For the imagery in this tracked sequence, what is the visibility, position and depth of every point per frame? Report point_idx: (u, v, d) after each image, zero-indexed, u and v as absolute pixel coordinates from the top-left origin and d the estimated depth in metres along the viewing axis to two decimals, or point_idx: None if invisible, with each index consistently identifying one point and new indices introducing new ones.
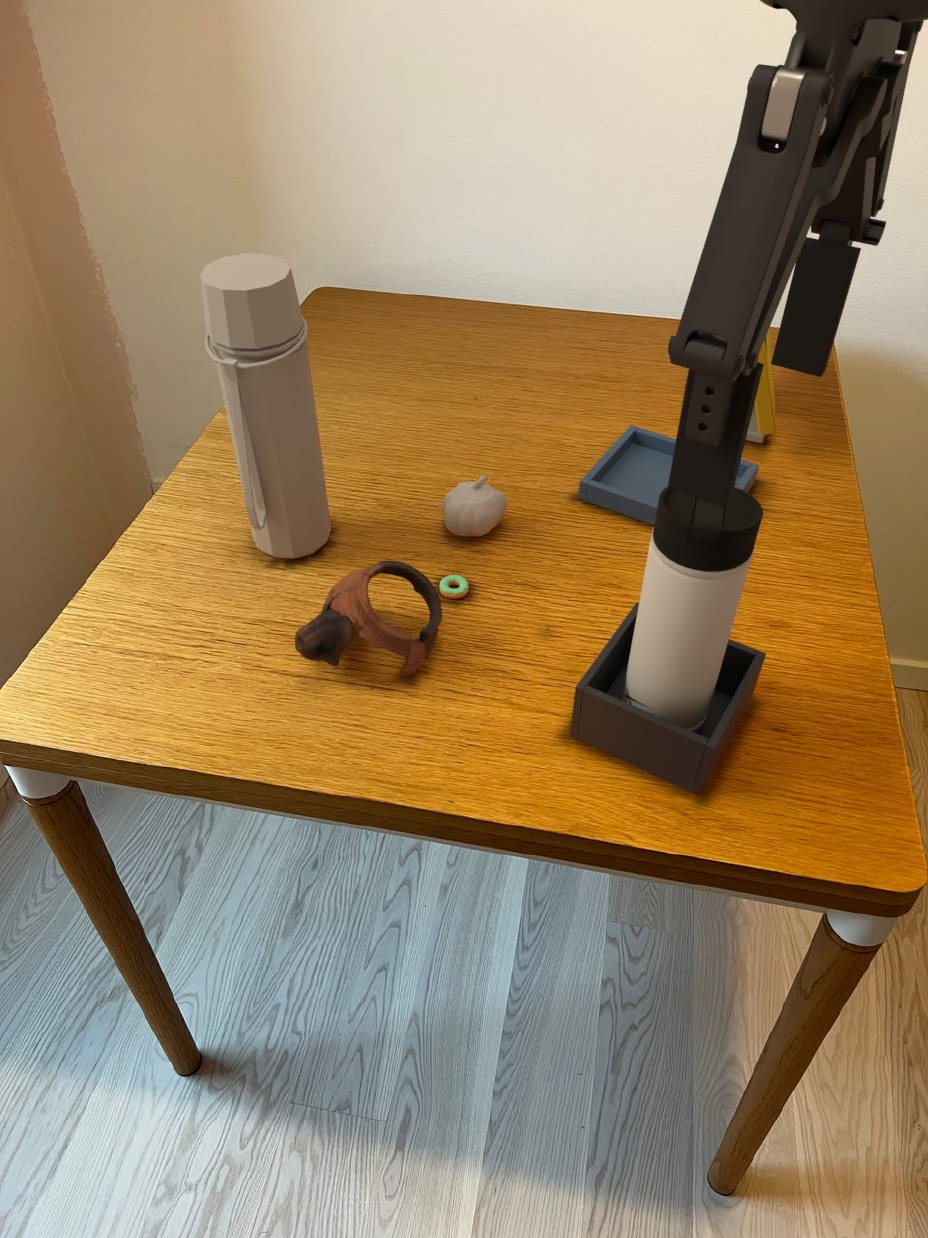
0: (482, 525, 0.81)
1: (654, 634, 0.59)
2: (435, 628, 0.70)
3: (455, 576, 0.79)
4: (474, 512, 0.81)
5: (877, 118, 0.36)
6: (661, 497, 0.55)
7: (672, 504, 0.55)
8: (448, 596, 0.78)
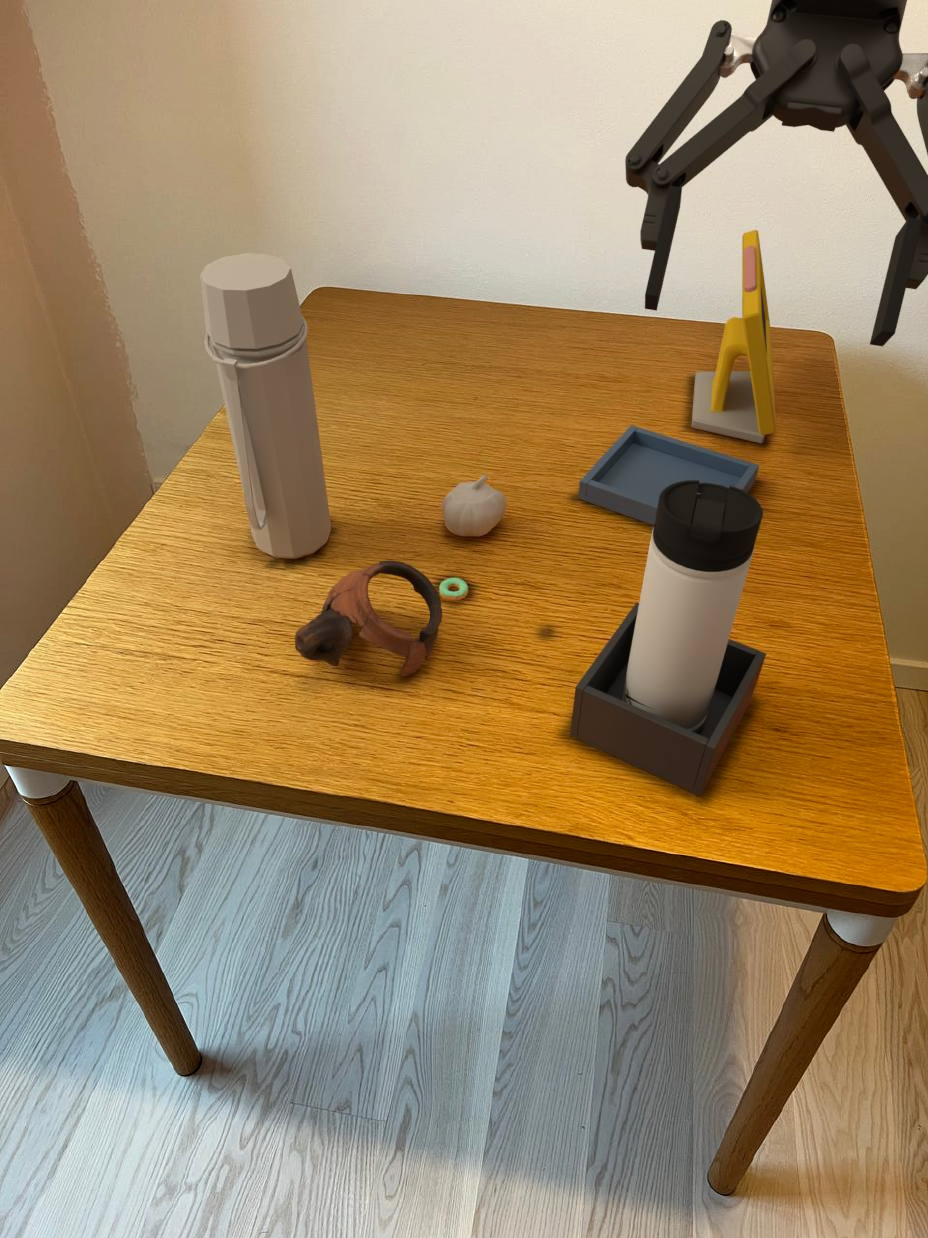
0: (482, 525, 0.81)
1: (654, 634, 0.59)
2: (435, 628, 0.70)
3: (455, 579, 0.79)
4: (474, 512, 0.81)
5: (850, 83, 0.52)
6: (661, 497, 0.55)
7: (672, 504, 0.55)
8: (448, 599, 0.78)
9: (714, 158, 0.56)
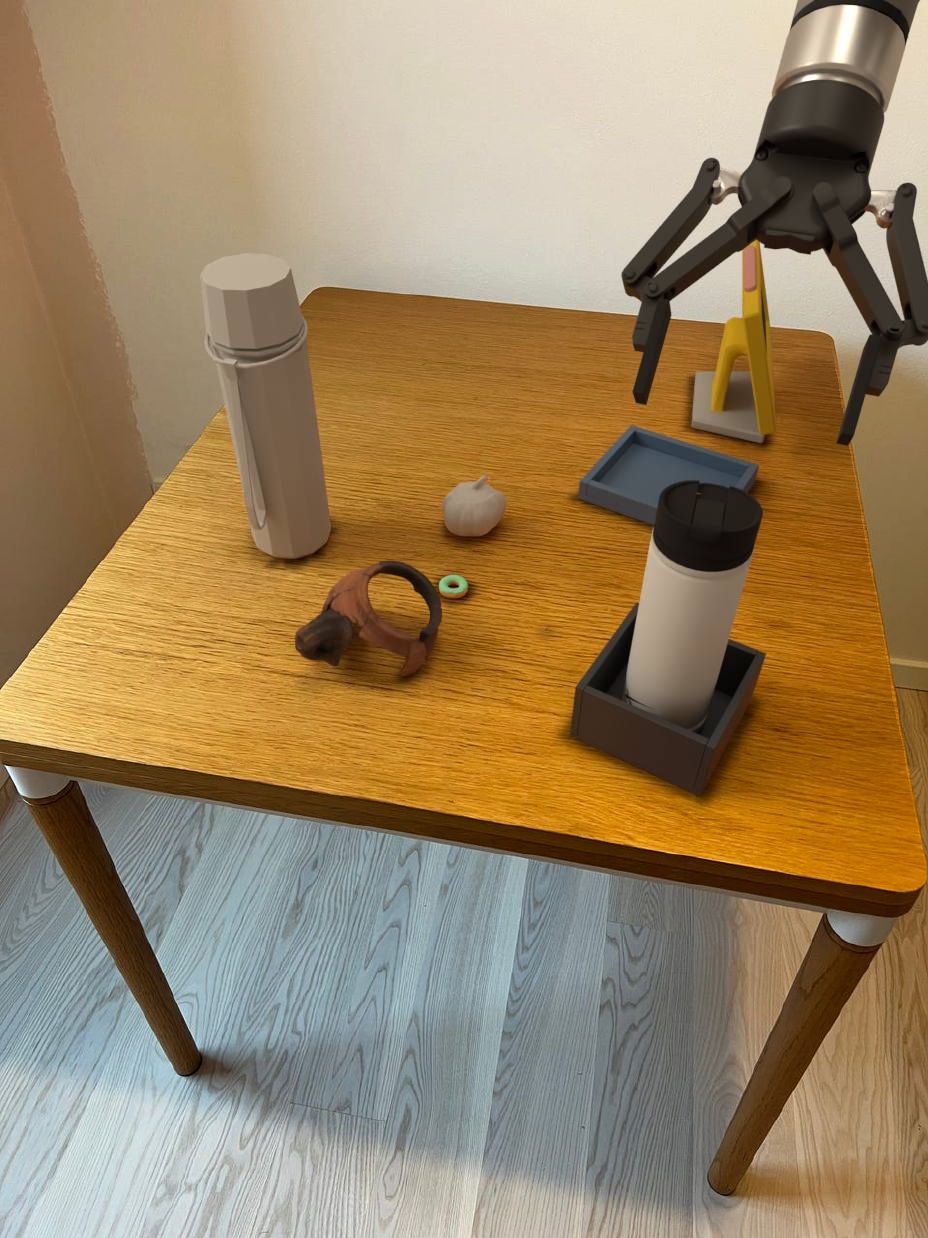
0: (482, 525, 0.81)
1: (654, 634, 0.59)
2: (435, 628, 0.70)
3: (454, 576, 0.79)
4: (474, 512, 0.81)
5: (822, 215, 0.59)
6: (661, 497, 0.55)
7: (672, 504, 0.55)
8: (447, 596, 0.78)
9: (703, 274, 0.63)
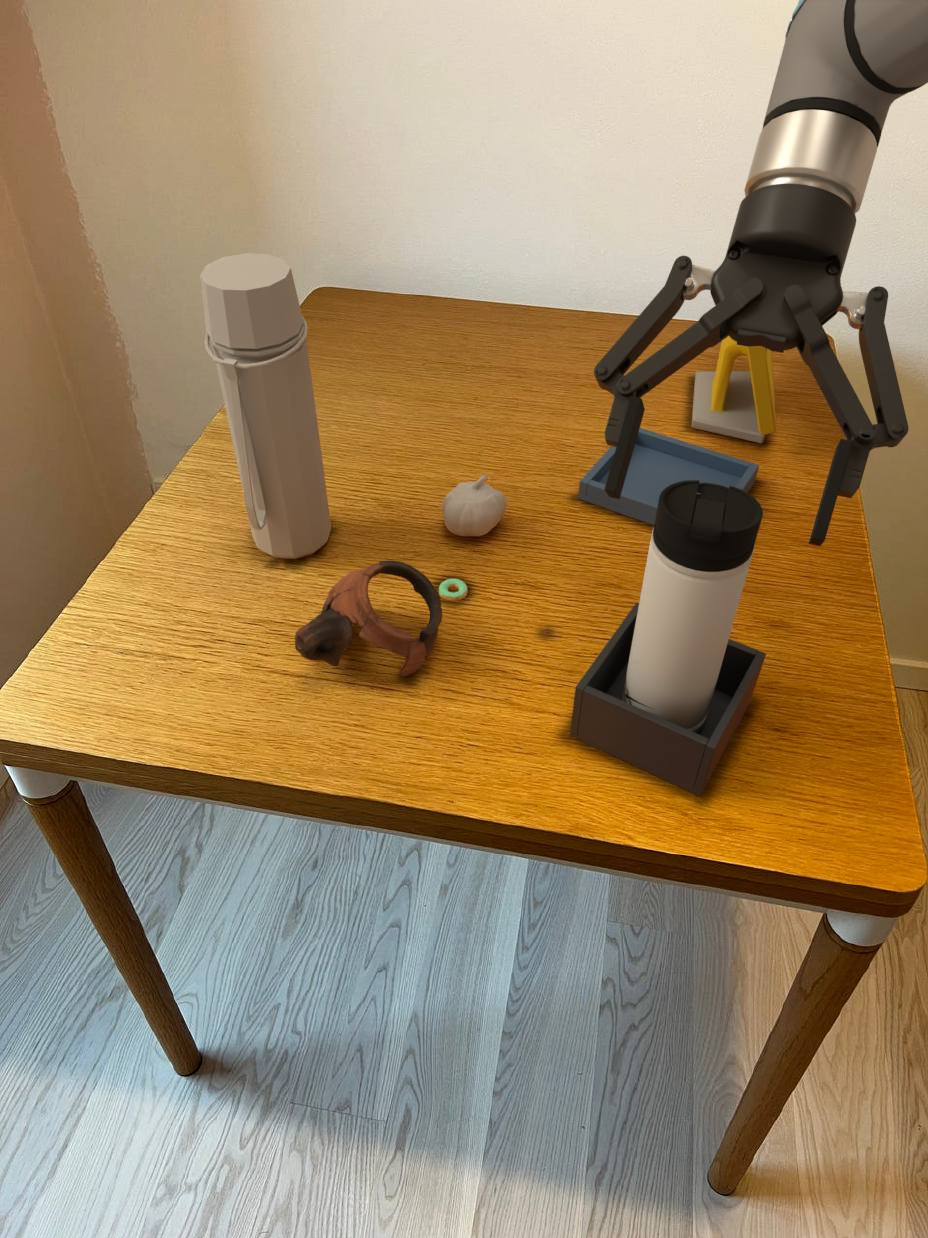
0: (482, 525, 0.81)
1: (654, 634, 0.59)
2: (435, 628, 0.70)
3: (454, 580, 0.79)
4: (474, 512, 0.81)
5: (793, 317, 0.59)
6: (661, 497, 0.55)
7: (672, 504, 0.55)
8: (447, 599, 0.78)
9: (676, 369, 0.63)
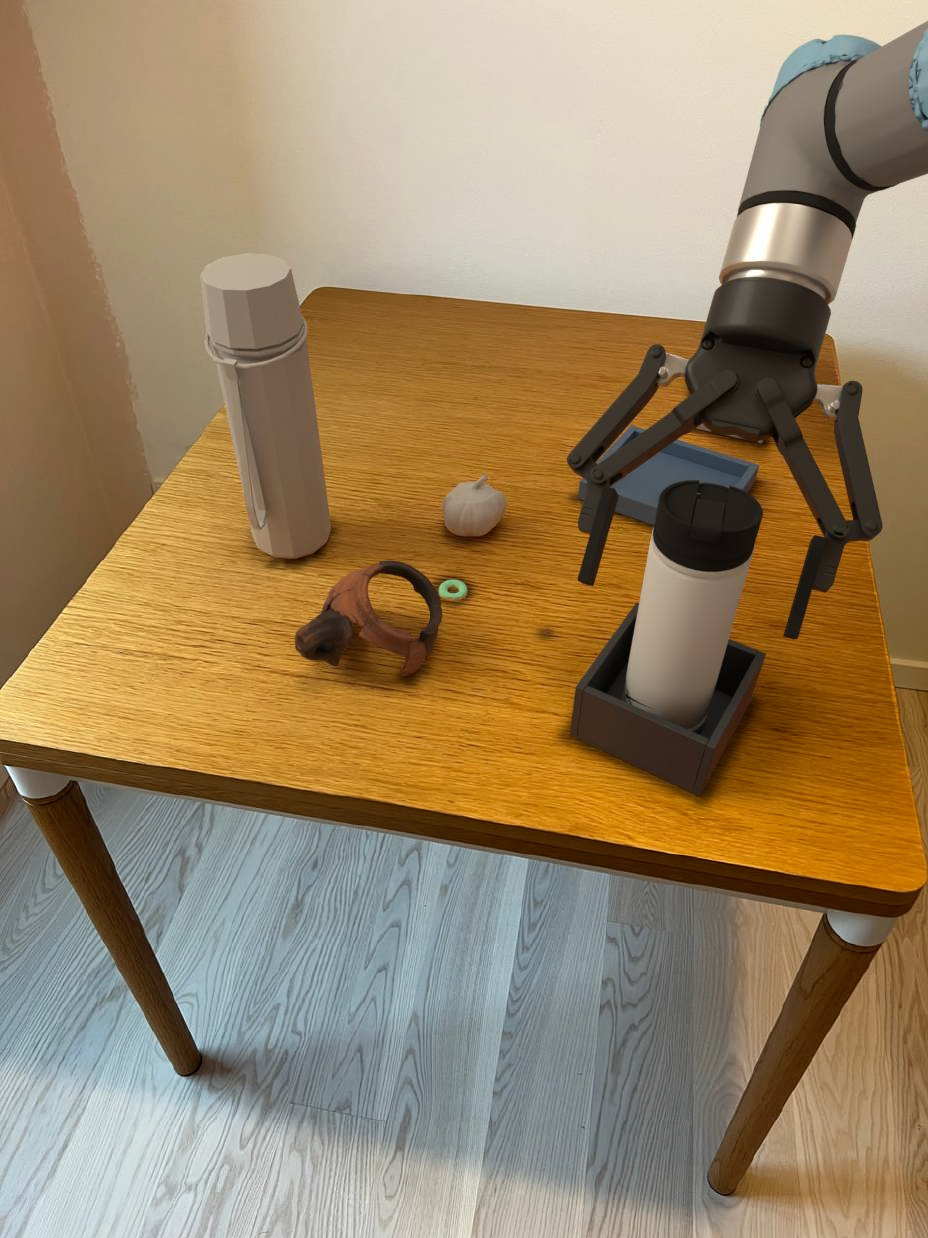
0: (482, 525, 0.81)
1: (654, 634, 0.59)
2: (435, 628, 0.70)
3: (454, 581, 0.79)
4: (474, 512, 0.81)
5: (767, 411, 0.58)
6: (661, 497, 0.55)
7: (672, 504, 0.55)
8: None
9: (650, 457, 0.62)
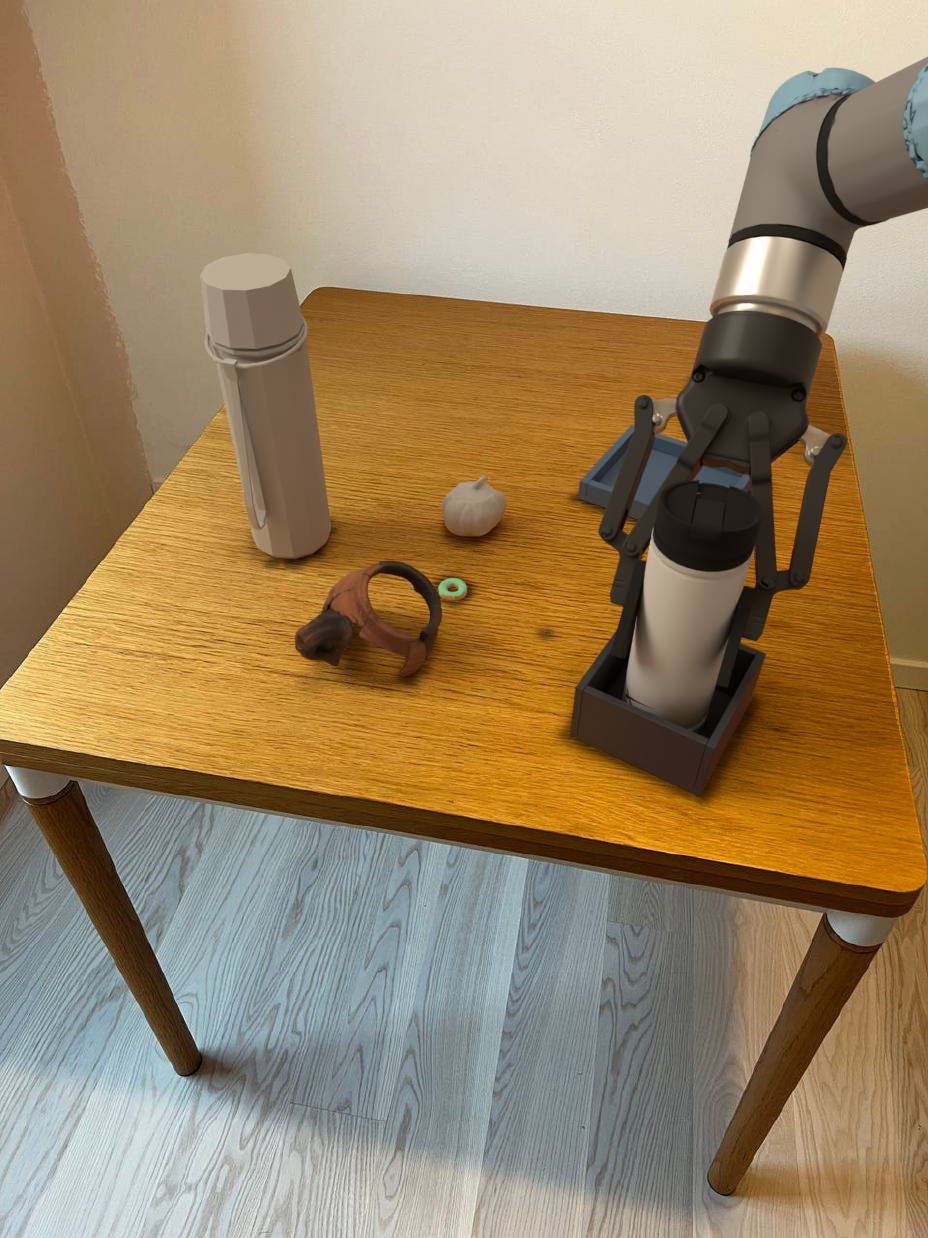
0: (482, 525, 0.81)
1: (654, 634, 0.59)
2: (435, 628, 0.70)
3: (454, 579, 0.79)
4: (474, 512, 0.81)
5: (749, 443, 0.58)
6: (661, 497, 0.55)
7: (672, 504, 0.55)
8: (447, 599, 0.78)
9: None
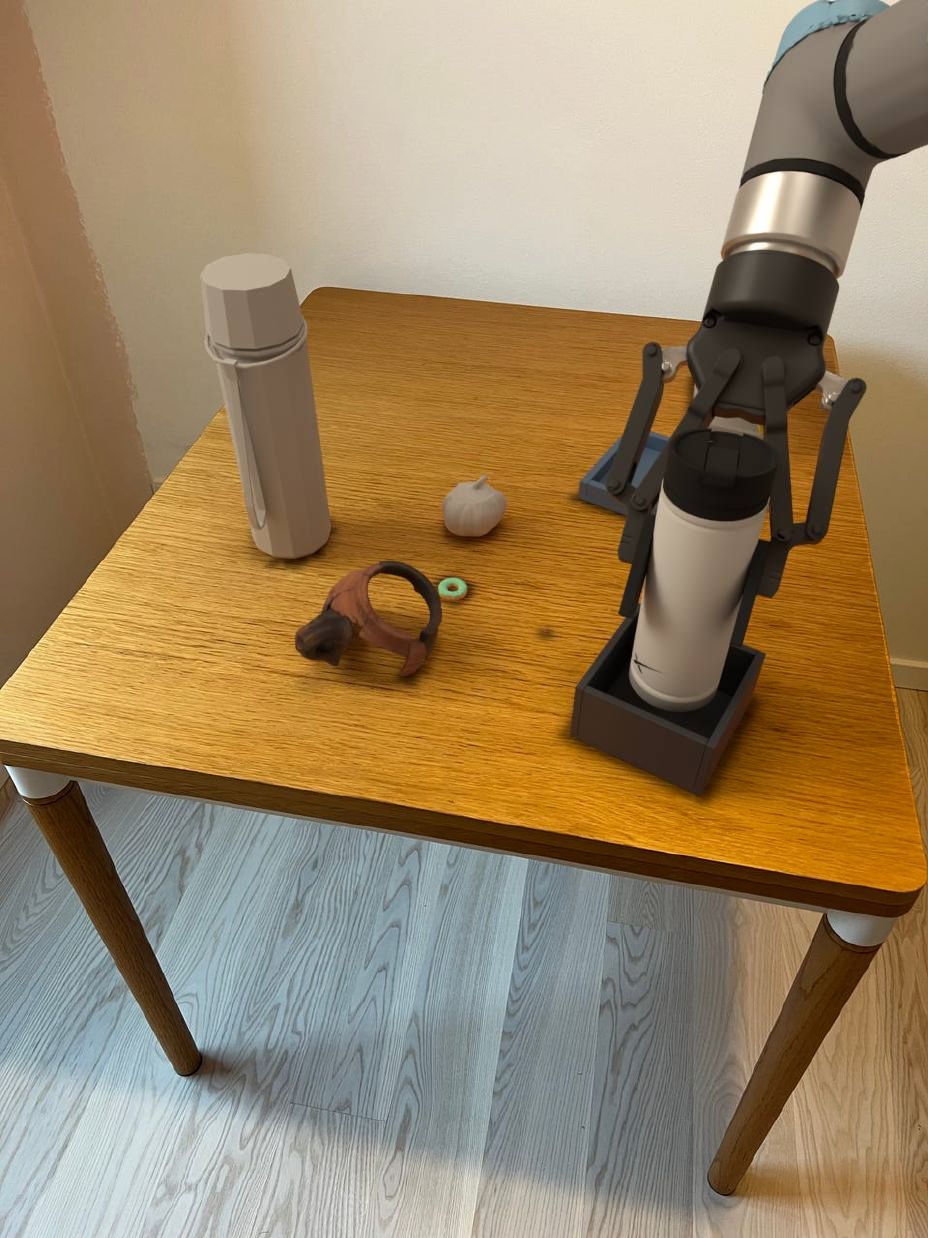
0: (482, 525, 0.81)
1: (665, 592, 0.57)
2: (435, 628, 0.70)
3: (454, 579, 0.79)
4: (474, 512, 0.81)
5: (763, 390, 0.55)
6: (671, 444, 0.52)
7: (683, 451, 0.52)
8: (447, 599, 0.78)
9: None
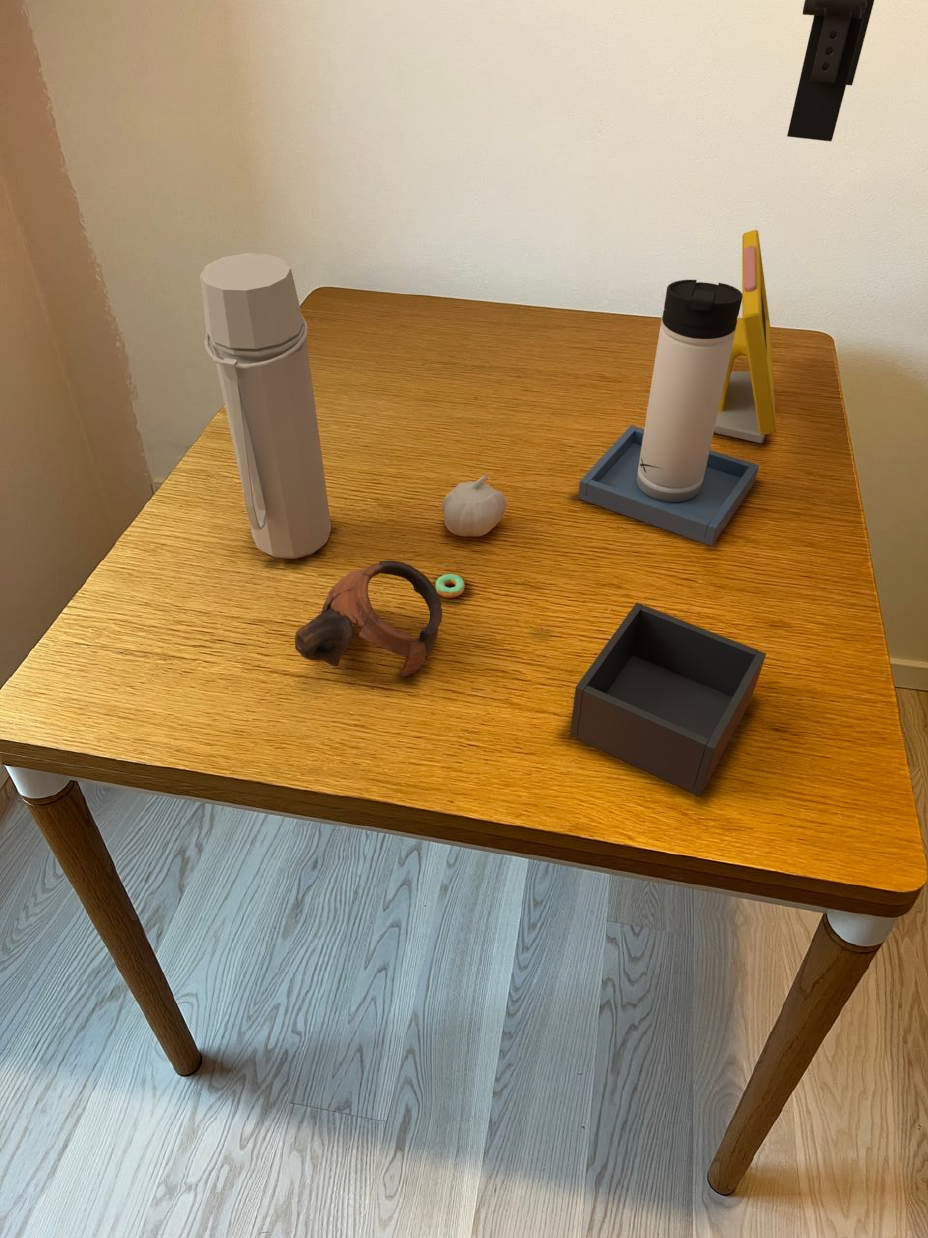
0: (482, 525, 0.81)
1: (663, 400, 0.80)
2: (435, 628, 0.70)
3: (451, 575, 0.79)
4: (474, 512, 0.81)
5: None
6: (668, 287, 0.76)
7: (676, 292, 0.76)
8: (444, 595, 0.78)
9: None
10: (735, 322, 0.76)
